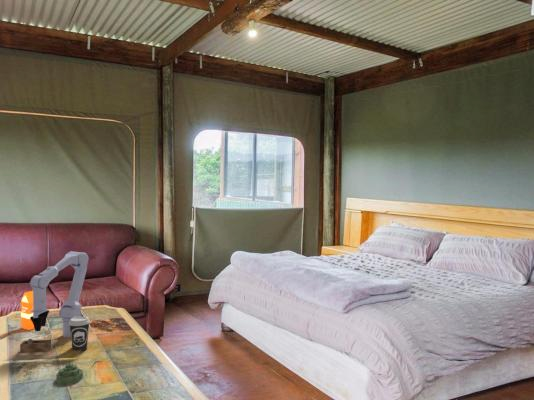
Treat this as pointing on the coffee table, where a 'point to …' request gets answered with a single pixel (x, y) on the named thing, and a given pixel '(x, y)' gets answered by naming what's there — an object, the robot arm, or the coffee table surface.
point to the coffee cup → (79, 332)
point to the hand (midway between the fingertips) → (40, 328)
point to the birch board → (39, 352)
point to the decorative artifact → (69, 374)
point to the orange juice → (27, 310)
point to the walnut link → (35, 346)
